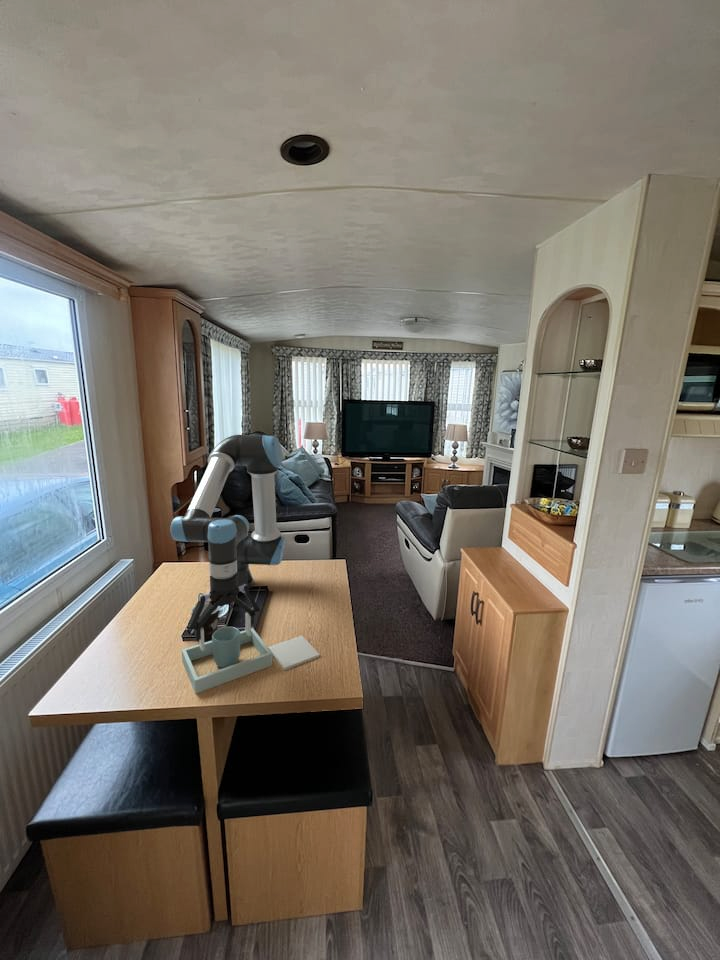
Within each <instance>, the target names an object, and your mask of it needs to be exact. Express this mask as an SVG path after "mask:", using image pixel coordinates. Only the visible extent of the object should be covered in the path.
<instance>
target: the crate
mask: <svg viewBox="0 0 720 960" xmlns="http://www.w3.org/2000/svg"><path fill="white" fill-rule="evenodd" d="M247 643H252V644H253V646H254V647H255V649H256V650H257V651H258V653H259V654H260V655H257V656H255V657H252V658H249V659H246V660H243V661H240V662H238V663H236V664H234V665H231V666H228V667H226V668H220V669H217V670H214V671H211V672H209V673H206V674H203V675H201V676H198V675H197V672H196V671H195V670H196V669H195V668H194V666H193V663H192V661H194V660H197V659H198V660H199V659H201V658H204V657H207V656H210V655H213V650H212V641H208V642H204V646H205V650H204V651H202V650H201V648H200V646H199V644H196V645H193V646H189V647H186V648H183V649H181V658H182V659H181V661H182V664H183V666H184V670H185V671H186V673H187V676H188V678H189V679H188V680H189V681H190V684H191V686H192V689H193V691H194V694H195V695H196V694H198V693H202V692H204V691H206V690H210V689H212V688H215V687H218V686H220V685H223V684H226V683H228V682H231V681H233V680H236V679H239V678H242V677H245V676H247V675H251V674H252V673H253V674H254V673H255V672H258V671H260V670H263V669H265V668H269V667H271V666H273V655H272V653H271V651H270V650H269V649H268V647H269V646H267V645H266V643H265V642H264V640H263V639H262V638H261V637H260V635H259V634H258V632H256V630H255V629H254V627H251V636H250V637H249V636H248V635H247V634H246V629H244V630H241V631H240V646H241V645H244V644H247Z"/></svg>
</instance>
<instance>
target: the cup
mask: <svg viewBox="0 0 720 960" xmlns="http://www.w3.org/2000/svg"><path fill="white" fill-rule="evenodd" d="M240 632H241V631H240V629H239V628H237V627H235V626H223V627H220V628H217V630H216V631H215V632H214V633H213V635H212V650H213V654H212V657H213V660H214V663H215V665H216V666H217V667H218V668H220V669H223V668H226V667H228V666H231V665H234V664H237V662H238V661H239V659H240V656H241V645H240Z"/></svg>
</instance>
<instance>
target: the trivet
mask: <svg viewBox="0 0 720 960" xmlns="http://www.w3.org/2000/svg"><path fill="white" fill-rule="evenodd" d="M267 647H268V649H269V650H270V651H271V653H272V657H273V658H274V659H275V660H276V662H277V663H278V664H279V666H280V667H281V668H282V670H283V671H286V670H288V669H291V668H294V667H296V666H299V665H302V664H304V663H307V662H309V661H311V660H314V659H317V658H320V655H321V654H320V653H319V652H318V651H317V650H316V649H315V647H314V646H313V645H311V643H310V642H309V641H308V640H307V639H306V638H305V637H304V636H303V635H299V636H296V637H294V638H290V639H287V640H285V641H282V642H279V643H277V644H273V645H271V646H270V645H269V646H267Z"/></svg>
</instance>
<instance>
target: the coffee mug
mask: <svg viewBox="0 0 720 960" xmlns="http://www.w3.org/2000/svg"><path fill="white" fill-rule="evenodd" d="M214 604H215V603H214ZM208 605H209V602H206V603H205V605H204V607H203V610H202V612H201V614H200V616H201V615H202V613H203V612H204V611H205V609H206V608H207V606H208ZM195 607H196V605H195V606H193V607H192V609H191V610H190V612H191V613H190V614H191V615H192V613H193V611H194V609H195ZM219 613H220V606H218V607H217V609H216V610H214V611H213V613H212V614H211V615H210V617H209V618H208V620H207V621H206V622H205V624H204V625H203V626H202V627H203V629H204V643H205V642H208V641H212V635H213V633H214V632H215V631H216V630H218V626H219V616H220V615H219ZM200 616H199V617H200ZM198 619H199V618H198ZM187 633H188V634H189V635H191V636H195V633H194V632H191V630H190V629H189V627H188V626H187ZM196 641H197V642H199V640H197V639H196Z"/></svg>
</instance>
